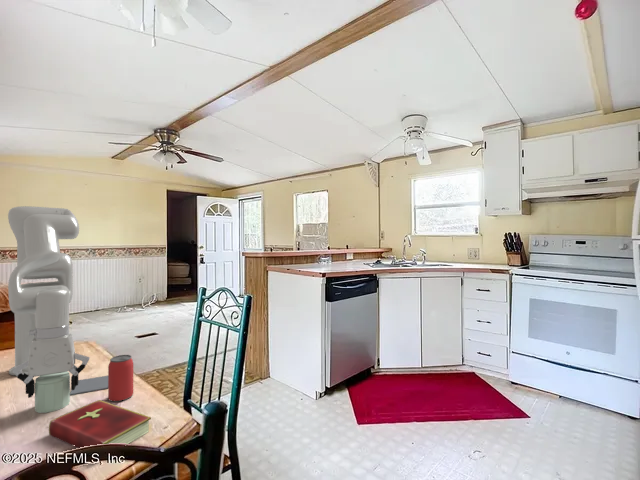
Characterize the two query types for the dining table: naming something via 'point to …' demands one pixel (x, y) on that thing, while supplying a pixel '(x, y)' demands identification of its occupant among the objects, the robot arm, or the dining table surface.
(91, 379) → the slate mat
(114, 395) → the beer can
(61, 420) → the hardcover book
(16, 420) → the dining table surface
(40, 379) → the mint green domed cylinder
